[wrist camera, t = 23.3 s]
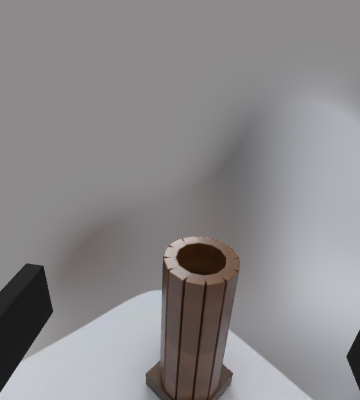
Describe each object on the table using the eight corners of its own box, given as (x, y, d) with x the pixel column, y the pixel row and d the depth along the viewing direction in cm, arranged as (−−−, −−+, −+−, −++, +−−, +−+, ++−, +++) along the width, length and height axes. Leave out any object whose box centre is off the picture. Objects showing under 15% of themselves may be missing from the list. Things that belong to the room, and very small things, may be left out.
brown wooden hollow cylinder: (148, 373, 28) (148, 257, 21) (187, 337, 32) (196, 228, 25) (193, 420, 25) (208, 298, 18) (230, 373, 28) (253, 258, 22)
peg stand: (145, 383, 28) (144, 301, 23) (186, 344, 32) (193, 266, 27) (192, 432, 25) (202, 349, 20) (231, 382, 29) (248, 301, 24)
